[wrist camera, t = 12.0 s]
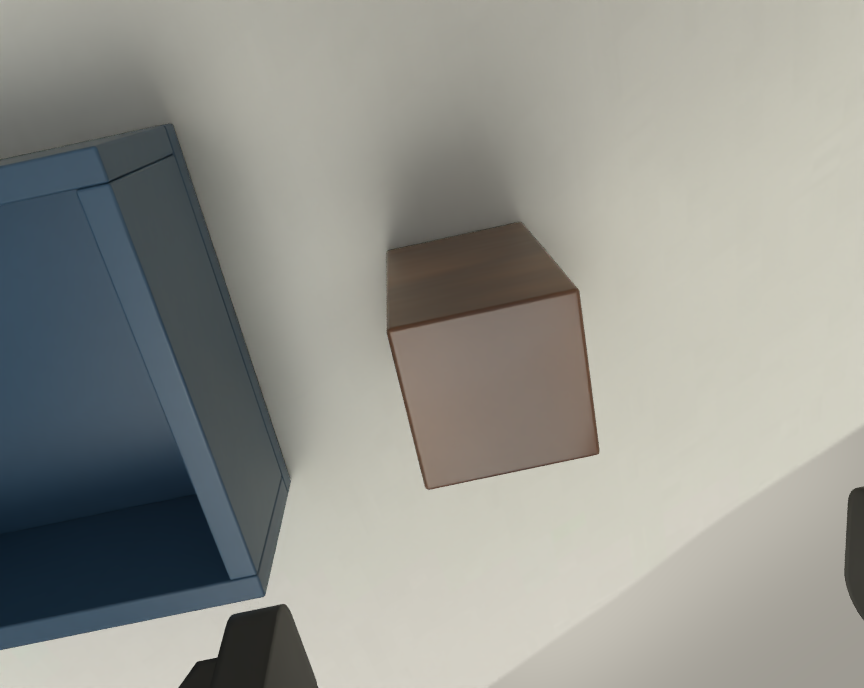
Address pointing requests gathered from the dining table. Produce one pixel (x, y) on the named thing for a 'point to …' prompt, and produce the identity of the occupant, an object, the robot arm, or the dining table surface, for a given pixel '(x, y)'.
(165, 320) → the toolbox
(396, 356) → the brown block
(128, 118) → the dining table surface
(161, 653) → the dining table surface
